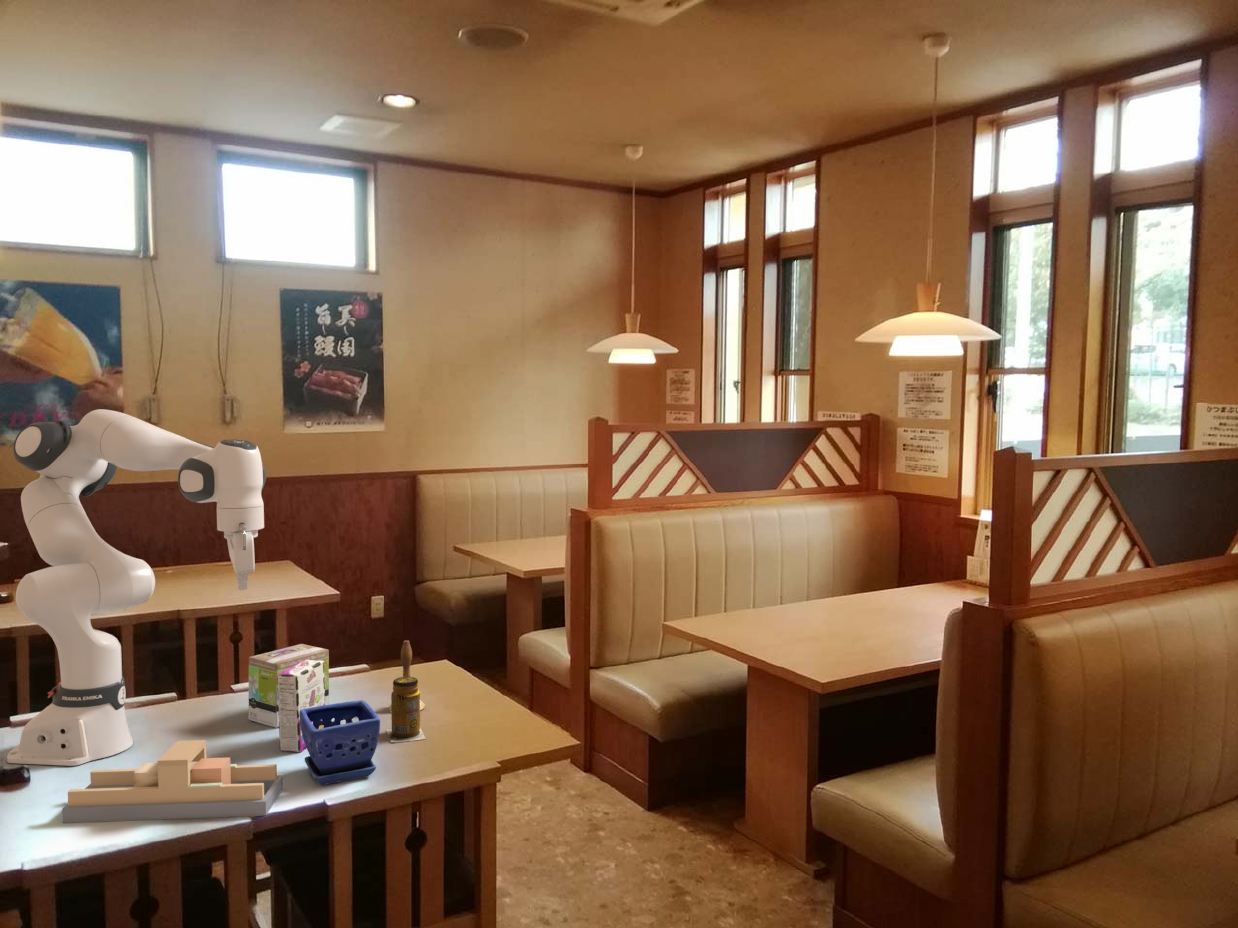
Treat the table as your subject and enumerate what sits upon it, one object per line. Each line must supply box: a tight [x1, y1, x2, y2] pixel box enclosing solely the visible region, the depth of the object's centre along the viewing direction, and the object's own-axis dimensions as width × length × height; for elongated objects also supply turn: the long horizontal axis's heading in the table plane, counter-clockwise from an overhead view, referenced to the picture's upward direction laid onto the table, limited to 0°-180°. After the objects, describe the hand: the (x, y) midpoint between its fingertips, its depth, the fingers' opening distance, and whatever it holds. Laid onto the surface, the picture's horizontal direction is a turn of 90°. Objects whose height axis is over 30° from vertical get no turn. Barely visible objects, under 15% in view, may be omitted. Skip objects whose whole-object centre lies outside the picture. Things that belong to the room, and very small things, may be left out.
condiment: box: [386, 676, 427, 743], centre depth 205 cm, size 7×8×12 cm
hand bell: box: [388, 639, 426, 712], centre depth 223 cm, size 8×8×16 cm
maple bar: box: [134, 762, 198, 787], centre depth 170 cm, size 10×4×4 cm, turn 95°
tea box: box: [248, 643, 330, 729], centre depth 218 cm, size 15×10×15 cm
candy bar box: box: [277, 660, 325, 753], centre depth 200 cm, size 11×5×16 cm, turn 168°
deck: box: [61, 739, 284, 824], centre depth 170 cm, size 34×12×10 cm, turn 95°
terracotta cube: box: [192, 757, 231, 784], centre depth 170 cm, size 5×5×5 cm
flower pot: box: [299, 699, 381, 785], centre depth 185 cm, size 13×13×12 cm
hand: (242, 588), depth 192 cm, fingers closed
